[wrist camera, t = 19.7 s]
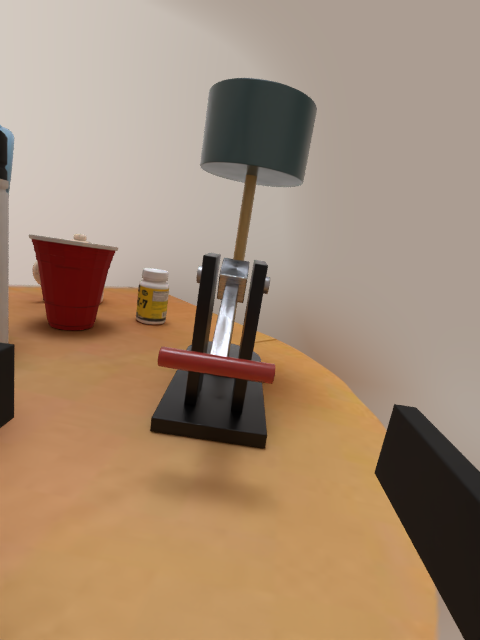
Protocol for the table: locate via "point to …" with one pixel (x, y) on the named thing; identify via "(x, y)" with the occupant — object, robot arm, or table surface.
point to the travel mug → (3, 240)
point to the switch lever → (222, 335)
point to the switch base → (216, 391)
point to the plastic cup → (71, 280)
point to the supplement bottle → (152, 297)
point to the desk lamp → (256, 145)
